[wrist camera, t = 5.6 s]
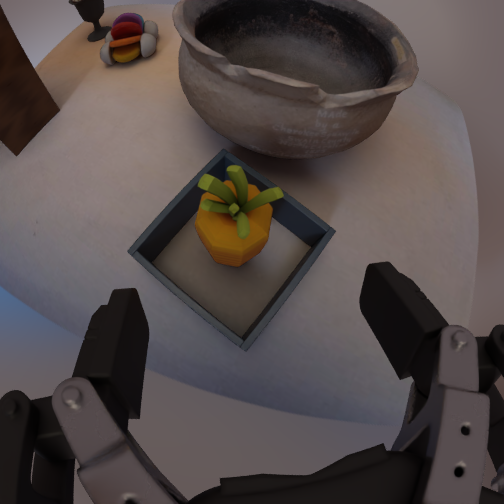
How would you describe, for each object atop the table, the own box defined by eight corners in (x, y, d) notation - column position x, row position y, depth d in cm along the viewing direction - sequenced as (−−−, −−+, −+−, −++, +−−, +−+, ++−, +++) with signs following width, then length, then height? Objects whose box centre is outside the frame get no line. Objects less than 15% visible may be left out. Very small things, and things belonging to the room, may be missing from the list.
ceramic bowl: (167, 181, 29) (129, 76, 15) (202, 54, 35) (199, -32, 20) (371, 204, 30) (452, 128, 16) (352, 75, 36) (387, 0, 21)
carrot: (267, 247, 28) (307, 169, 14) (239, 291, 27) (253, 252, 13) (224, 220, 29) (223, 122, 14) (195, 262, 27) (161, 194, 13)
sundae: (120, 32, 36) (104, -33, 21) (85, 48, 34) (62, -15, 20) (113, 20, 37) (98, -39, 22) (81, 35, 36) (61, -22, 21)
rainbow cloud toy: (101, 74, 33) (88, 40, 26) (112, 41, 35) (103, 10, 28) (155, 63, 34) (148, 25, 27) (160, 31, 36) (155, -3, 29)
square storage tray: (242, 346, 26) (245, 352, 21) (143, 263, 27) (126, 251, 22) (319, 246, 29) (336, 230, 24) (223, 174, 30) (223, 148, 25)
